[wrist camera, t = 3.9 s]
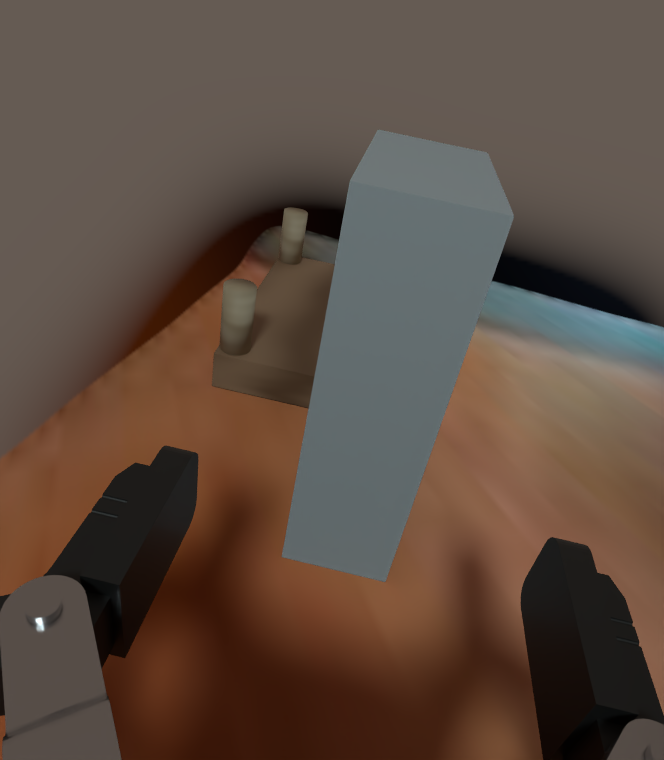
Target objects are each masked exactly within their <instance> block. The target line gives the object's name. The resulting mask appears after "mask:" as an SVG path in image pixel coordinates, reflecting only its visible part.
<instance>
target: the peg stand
mask: <svg viewBox="0 0 664 760" xmlns="http://www.w3.org/2000/svg"><path fill="white" fill-rule="evenodd" d="M307 215H308V213H307V212H306V211H305V210H302V209H298V208H286V209H284V216H283V225H282V233H281V241H280V250H279V258H278V259H277V261H276V262H275V264H274V265H273V267H272V268H271V270H270V271H269V273H268V274H267V276H266V277H265V279H264V280H263V282H262V283H261V285H260V286H259V288H258V289H257V286H256V285H255V284H254V283H253V282H251V281H248V280H244V279H230V280H227V281H225V282H224V286H223V301H222V316H221V332H220V345H219V347H218V348H217V350H216V351H215V353H214V362H213V378H212V386H215V387H219V388H224V389H228V390H232V391H237V392H241V393H245V394H250V395H254V396H258V397H263V398H267V399H271V400H276V401H280V402H284V403H289V404H293V405H297V406H302V407H306V408H309V404H310V399H311V393H312V388H313V382H314V377H315V371H316V366H317V360H318V355H319V349H320V344H321V338H322V333H323V327H324V322H325V316H326V311H327V305H328V300H329V294H330V288H331V283H332V277H333V272H334V266H335V264H330V263H326V262H321V261H316V260H312V259H307V258H303V257H302V250H303V243H304V236H305V229H306V222H307Z"/></svg>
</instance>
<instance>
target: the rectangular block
mask: <svg viewBox="0 0 664 760" xmlns="http://www.w3.org/2000/svg"><path fill="white" fill-rule="evenodd" d="M513 218H514V215H513V212H512V210H511V207H510V205H509V203H508V200H507V198H506V196H505V193H504V191H503V188H502V186H501V184H500V181H499V179H498V177H497V174H496V172H495V169H494V167H493V165H492V163H491V160H490V157H489V155H488V153H486V152H481V151H477V150H472V149H467V148H463V147H458V146H453V145H448V144H444V143H439V142H434V141H429V140H425V139H420V138H415V137H411V136H406V135H401V134H396V133H392V132H387V131H382V130H378V131H377V133H376V134H375V136H374V138H373V140H372V142H371V144H370V146H369V147H368V149H367V151H366V153H365V155H364V156H363V158H362V160H361V162H360V164H359V165H358V167H357V169H356V171H355V173H354V175H353V176H352V178H351V180H350V184H349V189H348V195H347V200H346V206H345V212H344V217H343V223H342V228H341V233H340V239H339V244H338V250H337V255H336V261H335V266H334V272H333V277H332V283H331V288H330V294H329V300H328V305H327V311H326V316H325V322H324V327H323V333H322V338H321V344H320V349H319V355H318V360H317V366H316V371H315V377H314V382H313V388H312V393H311V399H310V404H309V410H308V415H307V421H306V426H305V432H304V437H303V443H302V448H301V454H300V459H299V465H298V470H297V476H296V481H295V487H294V492H293V498H292V503H291V509H290V514H289V520H288V525H287V531H286V536H285V542H284V547H283V553H282V557H284V558H288V559H292V560H296V561H301V562H305V563H309V564H313V565H317V566H321V567H325V568H329V569H334V570H338V571H342V572H346V573H350V574H354V575H358V576H363V577H367V578H371V579H375V580H379V581H383V582H385V581H386V579H387V576H388V573H389V570H390V567H391V564H392V562H393V559H394V556H395V553H396V550H397V547H398V545H399V542H400V539H401V536H402V533H403V530H404V527H405V525H406V522H407V519H408V516H409V513H410V510H411V508H412V505H413V502H414V499H415V496H416V493H417V491H418V488H419V485H420V482H421V479H422V476H423V474H424V471H425V468H426V465H427V462H428V459H429V457H430V454H431V451H432V448H433V445H434V442H435V440H436V437H437V434H438V431H439V428H440V425H441V422H442V420H443V417H444V414H445V411H446V408H447V405H448V403H449V400H450V397H451V394H452V391H453V388H454V386H455V383H456V380H457V377H458V374H459V371H460V369H461V366H462V363H463V360H464V357H465V354H466V352H467V349H468V346H469V343H470V340H471V337H472V335H473V332H474V329H475V326H476V323H477V320H478V317H479V315H480V312H481V309H482V306H483V303H484V300H485V298H486V295H487V292H488V289H489V286H490V283H491V281H492V278H493V275H494V272H495V269H496V266H497V264H498V261H499V258H500V255H501V252H502V249H503V247H504V243H505V241H506V238H507V235H508V232H509V230H510V227H511V224H512V221H513Z"/></svg>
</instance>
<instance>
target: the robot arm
mask: <svg viewBox="0 0 664 760" xmlns="http://www.w3.org/2000/svg"><path fill="white" fill-rule="evenodd" d="M197 478H198V454H197V453H195V452H191V451H187V450H182V449H178V448H174V447H170V446H164V447H162V448H161V450H160V451H159V453H158V454H157V456H156V457H155V459H154V461H153V462H152V464H151V465H150V466H148V465H143V464H139V463H134V464H133V465H131V466H130V467H128V468H127V469H125V470H124V471H122V472H121V473H119V474H118V475H117V476H115V478H114V479H113V480H112V482H111V483H110V485H109V486H108V487H107V489H106V490H105V492H104V493H103V496H102V498H100V499H99V500H98V502H97V503H96V504H95V506H94V507H93V509H92V512H91V513H89V514H88V516H87V517H86V519H85V520H84V521H83V523H82V524H81V526H80V527H79V529H78V530H77V531H76V533H75V534H74V536H73V537H72V538H71V540H70V541H69V543H68V544H67V546H66V547H65V548H64V550H63V551H62V553H61V554H60V555H59V557H58V558H57V560H56V561H55V563H54V564H53V565H52V567H51V568H50V569H49V571H48V572H47V573H46V574H45V575H44V576H43V577H39V578H36V579H33V580H31V581H29V582H27V583H25V584H23V585H22V586H20V587H19V588H18V589H16V590H15V591H14V592H13V593H12V594H9V595H4V596H0V716H2V715H5V721H6V734H5V736H4V738H3V745H2V755H3V760H121V755H120V750H119V745H118V740H117V735H116V730H115V725H114V720H113V716H112V711H111V706H110V702H109V698H108V696H107V693H106V689H105V684H104V680H103V675H102V670H101V669H102V667H103V665H104V663H105V661H106V659H107V657H108V655H109V654H111V655H115V656H119V657H123V658H125V657H126V655H127V653H128V651H129V649H130V647H131V645H132V643H133V641H134V638H135V636H136V634H137V632H138V630H139V628H140V626H141V624H142V622H143V620H144V618H145V616H146V614H147V612H148V610H149V608H150V606H151V604H152V602H153V600H154V598H155V595H156V593H157V591H158V589H159V587H160V585H161V583H162V581H163V579H164V577H165V575H166V573H167V571H168V569H169V567H170V565H171V563H172V561H173V559H174V557H175V555H176V552H177V550H178V548H179V546H180V544H181V542H182V540H183V538H184V536H185V534H186V532H187V530H188V528H189V526H190V523H191V521H192V518H193V515H194V511H195V506H196V500H197ZM521 611H522V618H523V625H524V632H525V638H526V645H527V652H528V659H529V666H530V672H531V679H532V686H533V693H534V700H535V706H536V713H537V720H538V727H539V734H540V740H541V747H542V754H543V760H664V715H663V712H662V709H661V706H660V703H659V700H658V697H657V694H656V691H655V688H654V685H653V682H652V679H651V676H650V673H649V670H648V666H647V663H646V660H645V657H644V654H643V651H642V648H641V647H639V639H638V636H637V633H636V630H635V627H633V626H632V623H633V621H632V618H631V615H630V612H629V609H628V606H627V603H626V600H625V598H624V596H623V595H622V594H621V592H620V591H619V589H618V588H617V587H616V585H615V584H614V582H613V581H612V580H611V578H610V577H609V576H608V575H604V574H600V573H597V570H596V567H595V563H594V560H593V557H592V553H591V551H590V549H589V547H588V546H586V545H583V544H579V543H574V542H570V541H566V540H562V539H557V538H553V537H552V538H549V539H548V540H547V542H546V543H545V545H544V547H543V548H542V550H541V552H540V554H539V555H538V557H537V559H536V561H535V563H534V564H533V566H532V568H531V570H530V571H529V573H528V575H527V577H526V578H525V581H524V583H523V587H522V592H521Z"/></svg>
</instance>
